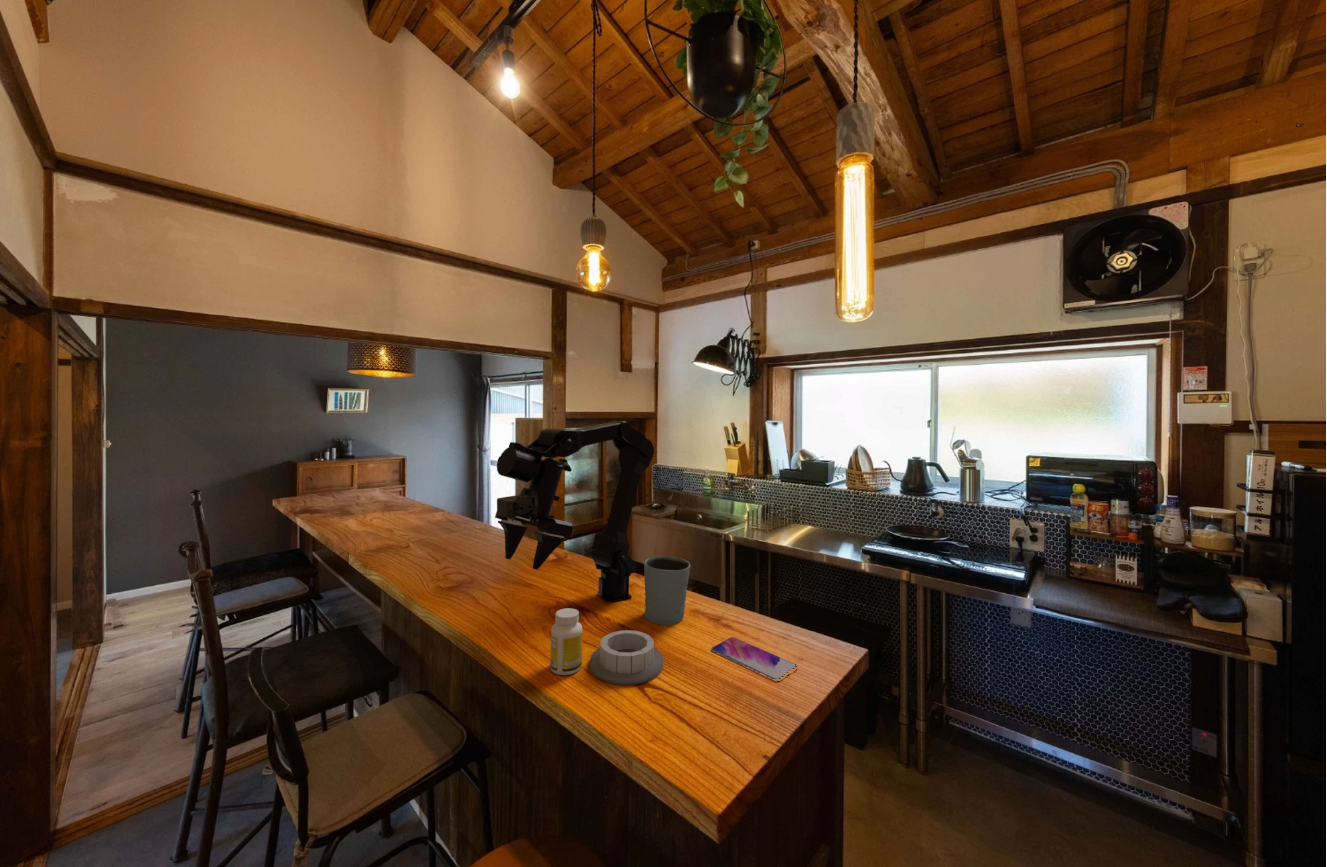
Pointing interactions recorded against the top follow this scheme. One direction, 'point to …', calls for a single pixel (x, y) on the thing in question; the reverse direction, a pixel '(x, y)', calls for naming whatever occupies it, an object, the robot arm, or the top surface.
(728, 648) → the smartphone
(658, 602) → the grey green cup
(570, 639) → the supplement bottle
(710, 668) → the top surface
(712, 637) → the top surface
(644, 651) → the socket collar
